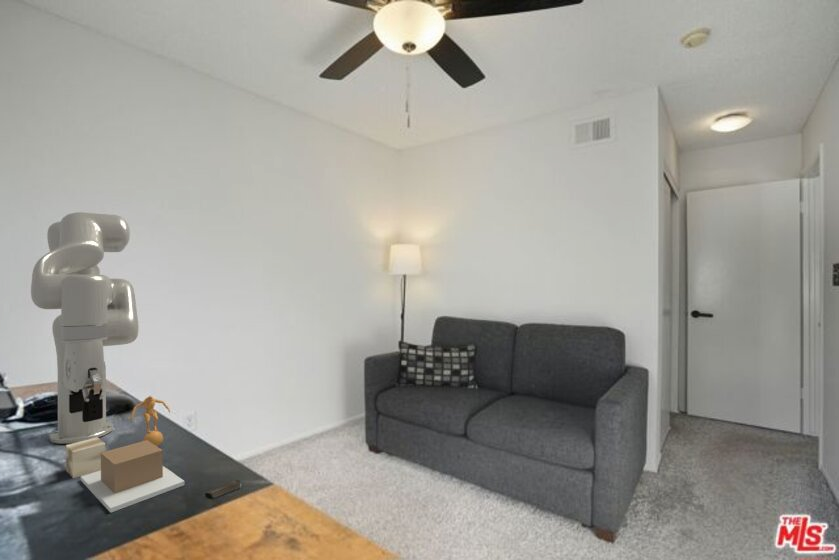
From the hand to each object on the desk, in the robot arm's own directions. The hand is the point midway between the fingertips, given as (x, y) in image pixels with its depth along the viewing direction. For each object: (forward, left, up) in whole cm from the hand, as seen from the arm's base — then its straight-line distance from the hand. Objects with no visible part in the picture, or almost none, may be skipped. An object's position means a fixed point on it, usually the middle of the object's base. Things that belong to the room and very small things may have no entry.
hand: (85, 415), depth 86 cm
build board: (+13, +4, -12) cm, 18 cm away
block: (+30, +14, -12) cm, 36 cm away
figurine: (-3, +13, -12) cm, 18 cm away
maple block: (-1, 0, -12) cm, 12 cm away
